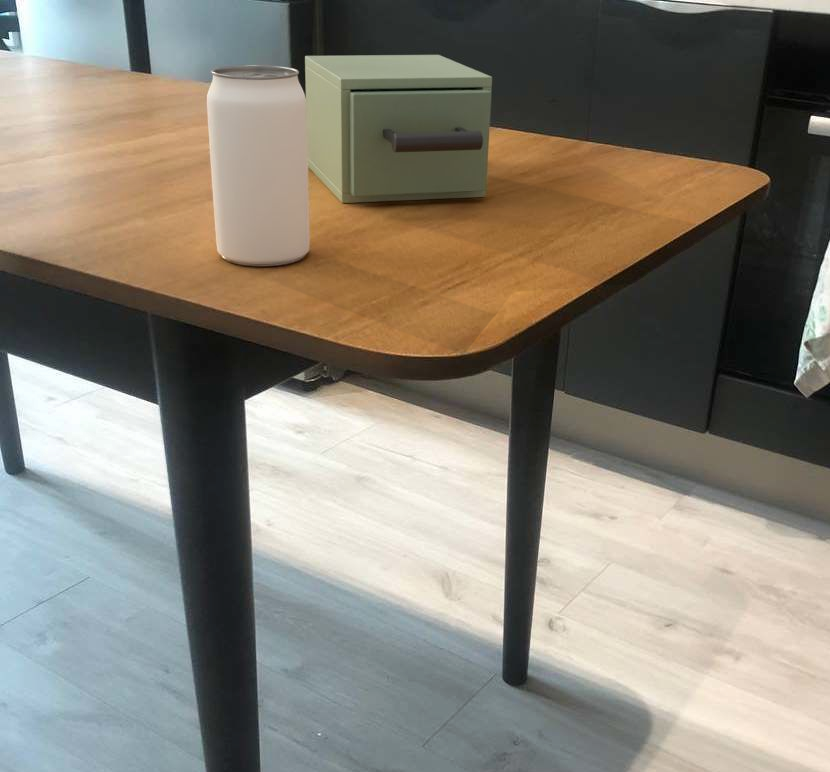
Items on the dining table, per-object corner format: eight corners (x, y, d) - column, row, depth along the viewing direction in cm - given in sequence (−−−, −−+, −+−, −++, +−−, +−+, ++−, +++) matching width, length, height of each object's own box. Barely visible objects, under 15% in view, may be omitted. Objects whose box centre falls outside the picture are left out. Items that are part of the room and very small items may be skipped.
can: (241, 238, 79) (232, 62, 73) (324, 247, 78) (320, 68, 72) (200, 261, 74) (186, 73, 68) (287, 272, 72) (280, 80, 66)
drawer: (505, 204, 87) (512, 101, 83) (367, 210, 84) (367, 104, 80) (438, 158, 102) (441, 69, 98) (319, 162, 99) (317, 70, 95)
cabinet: (485, 197, 93) (492, 76, 88) (341, 203, 89) (340, 78, 85) (435, 162, 105) (439, 54, 100) (307, 166, 102) (304, 55, 97)
